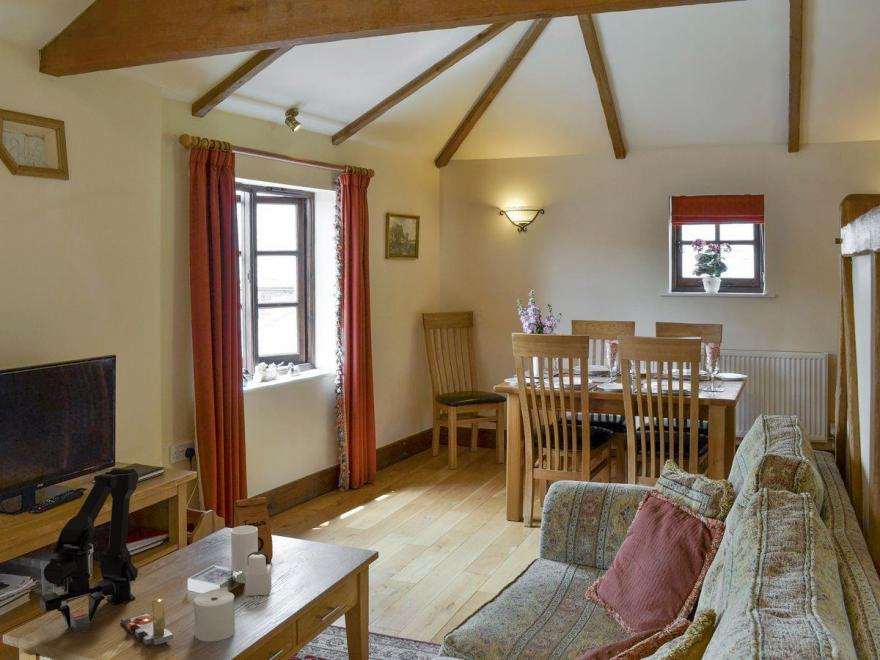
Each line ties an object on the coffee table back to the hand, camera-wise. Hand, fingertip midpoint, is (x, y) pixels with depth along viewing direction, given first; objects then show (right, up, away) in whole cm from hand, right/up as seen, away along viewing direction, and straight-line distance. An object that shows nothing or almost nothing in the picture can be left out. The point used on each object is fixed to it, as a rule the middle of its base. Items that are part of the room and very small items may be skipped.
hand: (79, 624), depth 234 cm
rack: (+21, 0, -5) cm, 22 cm away
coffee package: (+37, +3, +50) cm, 62 cm away
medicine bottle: (+44, +1, +26) cm, 51 cm away
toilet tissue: (+38, -2, -2) cm, 38 cm away
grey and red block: (0, -1, 0) cm, 1 cm away
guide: (+19, -1, -1) cm, 19 cm away
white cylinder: (+38, +2, +36) cm, 52 cm away
